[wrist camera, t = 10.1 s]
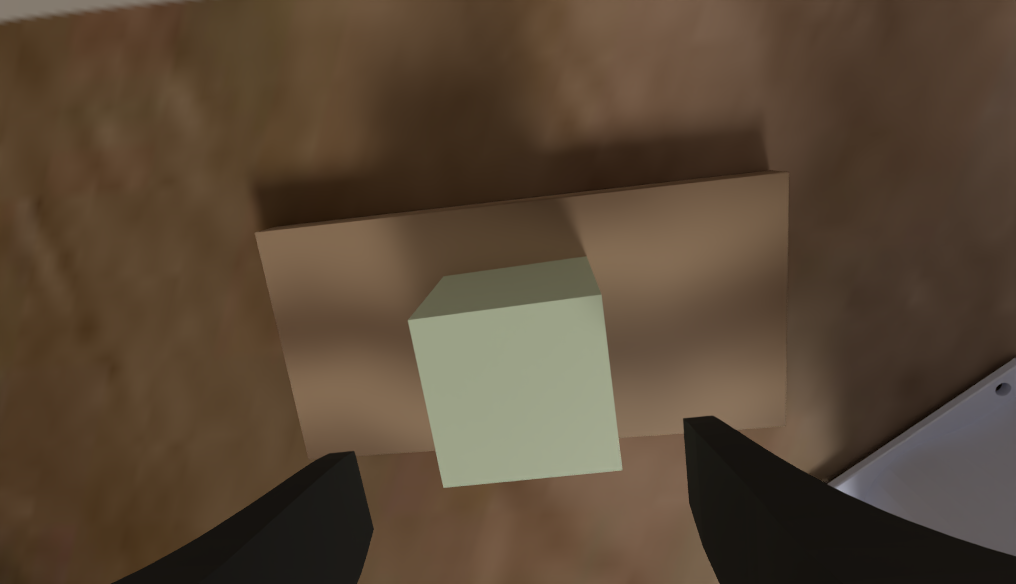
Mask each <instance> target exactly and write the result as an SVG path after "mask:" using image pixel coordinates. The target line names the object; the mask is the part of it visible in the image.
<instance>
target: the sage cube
mask: <svg viewBox="0 0 1016 584" xmlns="http://www.w3.org/2000/svg"><path fill="white" fill-rule="evenodd" d="M408 323H409V328H410V333H411V338H412V342H413V347H414V352H415V356H416V361H417V366H418V370H419V375H420V380H421V384H422V389H423V394H424V398H425V403H426V408H427V413H428V417H429V422H430V427H431V431H432V436H433V441H434V445H435V450H436V455H437V459H438V464H439V469H440V473H441V478H442V483H443V487H444V488H446V487H456V486H466V485H477V484H487V483H497V482H507V481H518V480H528V479H538V478H548V477H559V476H569V475H579V474H589V473H600V472H610V471H620V470H622V463H621V455H620V447H619V438H618V430H617V421H616V413H615V404H614V396H613V387H612V379H611V371H610V362H609V354H608V345H607V337H606V328H605V320H604V311H603V303H602V295H601V292H600V289H599V287H598V284H597V282H596V279H595V276H594V274H593V271H592V269H591V266H590V264H589V261H588V258H587V256H585V257H578V258H570V259H563V260H556V261H549V262H542V263H535V264H528V265H521V266H514V267H506V268H499V269H492V270H485V271H478V272H471V273H464V274H457V275H450V276H443V278H442V279H441V280H440V281H439V283H438V284H437V285H436V286H435V287H434V289H433V290H432V291H431V292H430V294H429V295H428V296H427V297H426V298H425V300H424V301H423V302H422V303H421V305H420V306H419V307H418V308H417V310H416V311H415V312H414V313H413V314H412V316H411V317H410V318H409V319H408Z"/></svg>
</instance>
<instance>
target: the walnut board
mask: <svg viewBox="0 0 1016 584" xmlns="http://www.w3.org/2000/svg"><path fill="white" fill-rule="evenodd" d="M788 211H789V172H783V171H771V170H769V171H760V172H751V173H743V174H734V175H725V176H716V177H707V178H699V179H690V180H681V181H672V182H664V183H655V184H646V185H637V186H629V187H620V188H611V189H602V190H594V191H585V192H576V193H567V194H558V195H550V196H541V197H532V198H523V199H515V200H506V201H497V202H488V203H480V204H471V205H462V206H453V207H445V208H436V209H427V210H418V211H410V212H401V213H392V214H383V215H374V216H366V217H357V218H348V219H339V220H331V221H322V222H313V223H304V224H296V225H287V226H278V227H273V228H270V229H266V230H262V231H259V232H255V236H256V240H257V244H258V248H259V253H260V257H261V261H262V265H263V269H264V274H265V278H266V282H267V286H268V290H269V295H270V299H271V303H272V307H273V312H274V316H275V320H276V324H277V328H278V333H279V337H280V341H281V345H282V349H283V354H284V358H285V362H286V366H287V370H288V375H289V379H290V383H291V387H292V392H293V396H294V400H295V404H296V408H297V413H298V417H299V421H300V425H301V429H302V434H303V438H304V442H305V446H306V450H307V455H308V459H319V458H321V457H323V456H325V455H326V454H328V453H337V452H347V451H355V455H356V456H366V455H380V454H395V453H409V452H424V451H436V450H435V445H434V441H433V436H432V431H431V427H430V422H429V417H428V413H427V408H426V403H425V398H424V394H423V389H422V384H421V380H420V375H419V370H418V366H417V361H416V356H415V352H414V347H413V342H412V338H411V333H410V328H409V323H408V319H409V318H410V317H411V316H412V314H413V313H414V312H415V311H416V310H417V308H418V307H419V306H420V305H421V303H422V302H423V301H424V300H425V298H426V297H427V296H428V295H429V294H430V292H431V291H432V290H433V289H434V287H435V286H436V285H437V284H438V283H439V281H440V280H441V279H442V278H443V276H450V275H457V274H464V273H471V272H478V271H485V270H492V269H499V268H506V267H514V266H521V265H528V264H535V263H542V262H549V261H556V260H563V259H570V258H578V257H585V256H587V258H588V261H589V264H590V266H591V269H592V271H593V274H594V276H595V279H596V282H597V284H598V287H599V289H600V292H601V295H602V303H603V311H604V320H605V328H606V337H607V345H608V354H609V362H610V371H611V379H612V387H613V396H614V404H615V413H616V421H617V430H618V438H625V437H639V436H654V435H668V434H683V433H684V427H683V418H691V417H701V416H711V415H713V416H715V417H717V418H718V419H720V420H722V421H723V422H725V423H726V424H728V425H729V426H731V427H732V428H734V429H735V430H740V429H754V428H769V427H783V426H786V373H787V292H788Z"/></svg>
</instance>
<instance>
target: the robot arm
mask: <svg viewBox="0 0 1016 584" xmlns="http://www.w3.org/2000/svg"><path fill="white" fill-rule="evenodd" d="M1001 383H1002V386H1001V388H1000V389H999V390H997V391H995V390H996V387H997V386H998V385H999V384H1001ZM683 427H684V440H685V453H686V466H687V479H688V493H689V504H690V507H691V510H692V513H693V517H694V520H695V523H696V526H697V529H698V533H699V536H700V539H701V542H702V545H703V548H704V550H705V552H706V554H707V557H708V559H709V561H710V563H711V566H712V568H713V570H714V572H715V574H716V577H717V579H718V581H719V583H720V584H1016V358H1014V359H1012V360H1011V361H1009V362H1008V363H1006V364H1005V365H1003V366H1002V367H1000V368H999V369H998V370H996V371H995V372H993V373H992V374H990V375H989V376H987V377H986V378H984V379H983V380H981V381H980V382H978V383H977V384H975V385H974V386H972V387H971V388H969V389H968V390H966V391H965V392H963V393H962V394H960V395H959V396H957V397H956V398H954V399H953V400H951V401H950V402H948V403H947V404H945V405H944V406H942V407H941V408H939V409H938V410H937V411H935V412H934V413H932V414H931V415H929V416H928V417H926V418H925V419H923V420H922V421H920V422H919V423H917V424H916V425H914V426H913V427H911V428H910V429H908V430H907V431H905V432H904V433H902V434H901V435H899V436H898V437H896V438H895V439H893V440H892V441H890V442H889V443H887V444H886V445H884V446H883V447H881V448H880V449H878V450H877V451H876V452H874V453H873V454H871V455H870V456H868V457H867V458H865V459H864V460H862V461H861V462H859V463H858V464H856V465H855V466H853V467H852V468H850V469H849V470H847V471H846V472H844V473H843V474H841V475H840V476H838V477H837V478H835V479H834V480H832V481H831V482H829V483H828V484H826V483H824V482H822V481H820V480H818V479H817V478H815V477H813V476H811V475H809V474H807V473H805V472H804V471H802V470H800V469H798V468H796V467H795V466H793V465H791V464H790V463H788V462H786V461H784V460H783V459H781V458H779V457H778V456H776V455H774V454H773V453H771V452H770V451H768V450H766V449H765V448H763V447H762V446H760V445H758V444H757V443H755V442H754V441H752V440H751V439H749V438H748V437H746V436H745V435H743V434H741V433H740V432H738V431H737V430H735V429H734V428H732V427H731V426H729V425H728V424H726V423H725V422H723V421H722V420H720V419H718V418H717V417H715V416H713V415H711V416H701V417H691V418H683ZM373 530H374V528H373V524H372V520H371V516H370V512H369V508H368V504H367V500H366V496H365V492H364V488H363V484H362V480H361V476H360V472H359V468H358V463H357V459H356V455H355V451H347V452H337V453H328V454H326V455H325V456H323V457H321V458H319V459H317V460H316V461H314V462H312V463H311V464H309V465H308V466H306V467H305V468H303V469H302V470H300V471H299V472H297V473H296V474H294V475H293V476H291V477H290V478H288V479H287V480H285V481H284V482H282V483H281V484H280V485H278V486H277V487H275V488H274V489H272V490H271V491H269V492H268V493H266V494H265V495H263V496H262V497H261V498H259V499H258V500H256V501H255V502H253V503H252V504H250V505H249V506H247V507H246V508H244V509H243V510H241V511H239V512H238V513H236V514H235V515H233V516H232V517H230V518H229V519H227V520H225V521H224V522H222V523H221V524H219V525H218V526H216V527H214V528H213V529H211V530H210V531H208V532H207V533H205V534H203V535H202V536H200V537H198V538H197V539H195V540H193V541H192V542H190V543H188V544H187V545H185V546H183V547H181V548H180V549H178V550H176V551H174V552H172V553H170V554H169V555H167V556H165V557H163V558H161V559H160V560H158V561H156V562H154V563H152V564H150V565H148V566H146V567H145V568H143V569H141V570H139V571H137V572H135V573H132V574H130V575H128V576H126V577H124V578H122V579H120V580H118V581H116V582H114V583H112V584H357V582H358V580H359V577H360V575H361V572H362V569H363V566H364V562H365V559H366V556H367V552H368V548H369V545H370V541H371V537H372V533H373Z"/></svg>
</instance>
